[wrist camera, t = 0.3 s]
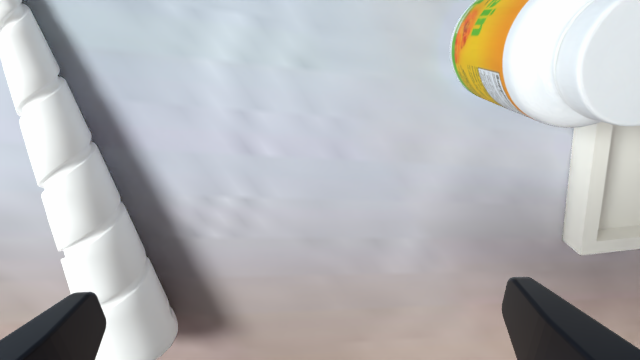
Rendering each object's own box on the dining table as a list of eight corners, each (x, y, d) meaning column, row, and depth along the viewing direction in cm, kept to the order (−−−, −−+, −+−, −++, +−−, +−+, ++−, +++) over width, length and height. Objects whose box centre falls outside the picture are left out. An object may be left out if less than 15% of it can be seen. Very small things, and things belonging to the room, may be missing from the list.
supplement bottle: (515, -40, 19) (700, -102, 10) (573, 48, 21) (781, 63, 11) (425, 42, 20) (517, 52, 11) (486, 119, 22) (611, 184, 13)
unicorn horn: (57, -108, 18) (-28, -153, 14) (190, 318, 26) (165, 378, 22) (-45, -91, 18) (-162, -130, 14) (120, 327, 27) (81, 388, 22)
